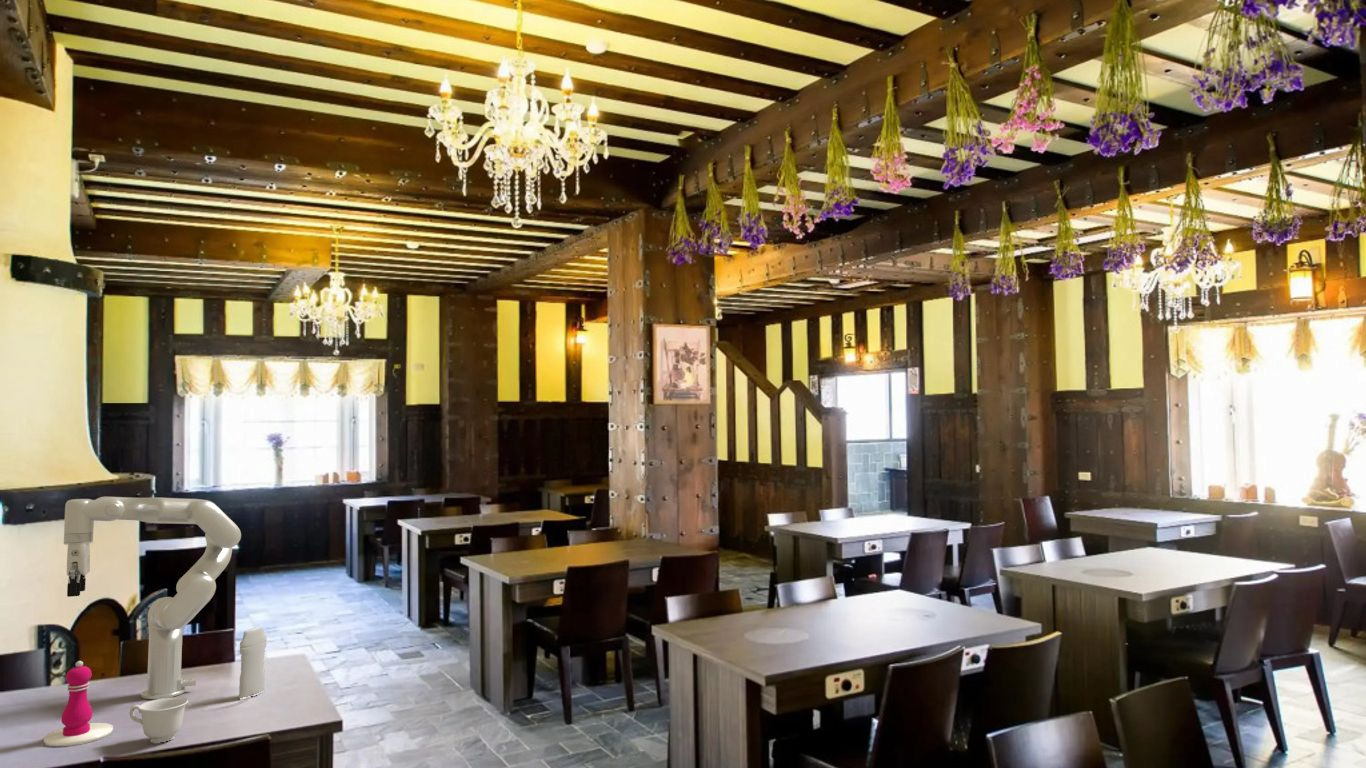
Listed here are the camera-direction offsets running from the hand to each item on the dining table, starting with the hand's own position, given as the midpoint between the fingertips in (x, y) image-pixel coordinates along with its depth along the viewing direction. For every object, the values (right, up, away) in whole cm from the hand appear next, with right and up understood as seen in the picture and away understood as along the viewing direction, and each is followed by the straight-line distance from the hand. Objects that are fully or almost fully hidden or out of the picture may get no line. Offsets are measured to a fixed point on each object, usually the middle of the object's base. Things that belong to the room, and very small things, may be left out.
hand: (76, 593), depth 264 cm
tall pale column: (+48, -37, +14) cm, 62 cm away
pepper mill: (+18, -34, -25) cm, 45 cm away
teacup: (+43, -35, -28) cm, 61 cm away
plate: (+18, -35, -24) cm, 46 cm away
